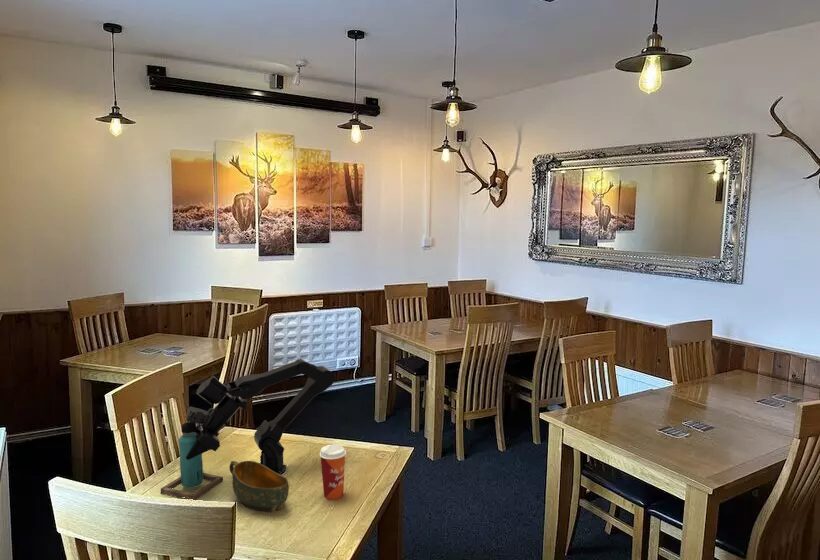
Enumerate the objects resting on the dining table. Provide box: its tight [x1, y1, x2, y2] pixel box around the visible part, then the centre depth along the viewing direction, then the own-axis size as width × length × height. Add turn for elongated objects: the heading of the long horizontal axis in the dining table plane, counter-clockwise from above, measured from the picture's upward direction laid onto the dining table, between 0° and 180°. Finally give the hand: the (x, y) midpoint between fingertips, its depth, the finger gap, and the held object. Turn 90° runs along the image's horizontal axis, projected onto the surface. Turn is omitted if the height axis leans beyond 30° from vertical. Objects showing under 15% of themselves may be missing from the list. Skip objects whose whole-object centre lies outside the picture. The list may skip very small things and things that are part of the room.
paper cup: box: [319, 444, 347, 501], centre depth 161 cm, size 8×8×14 cm
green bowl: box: [229, 460, 290, 513], centre depth 157 cm, size 13×20×10 cm, turn 32°
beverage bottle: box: [177, 421, 205, 489], centre depth 165 cm, size 6×7×20 cm
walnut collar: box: [160, 472, 224, 501], centre depth 166 cm, size 12×12×2 cm
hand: (185, 454), depth 164 cm, fingers closed on beverage bottle, 6 cm apart
